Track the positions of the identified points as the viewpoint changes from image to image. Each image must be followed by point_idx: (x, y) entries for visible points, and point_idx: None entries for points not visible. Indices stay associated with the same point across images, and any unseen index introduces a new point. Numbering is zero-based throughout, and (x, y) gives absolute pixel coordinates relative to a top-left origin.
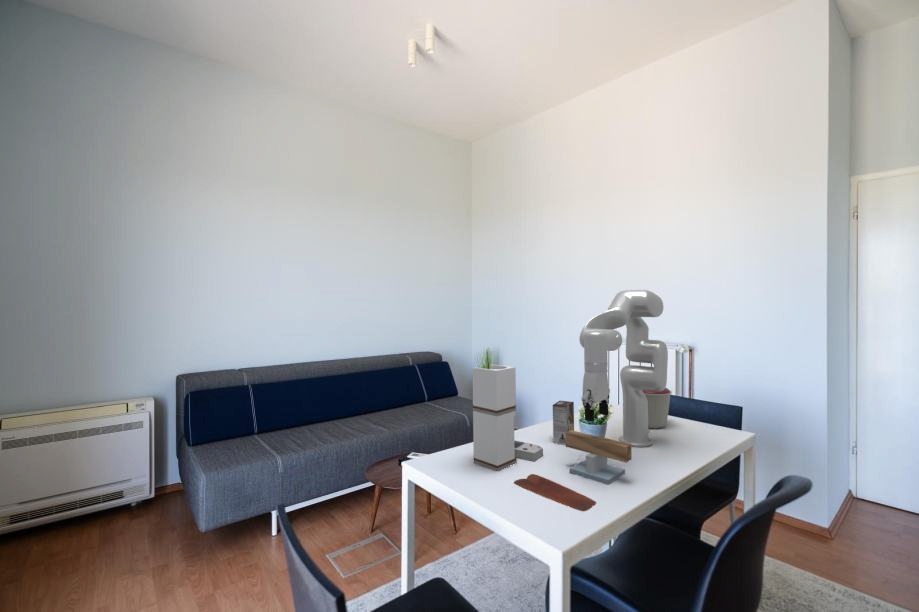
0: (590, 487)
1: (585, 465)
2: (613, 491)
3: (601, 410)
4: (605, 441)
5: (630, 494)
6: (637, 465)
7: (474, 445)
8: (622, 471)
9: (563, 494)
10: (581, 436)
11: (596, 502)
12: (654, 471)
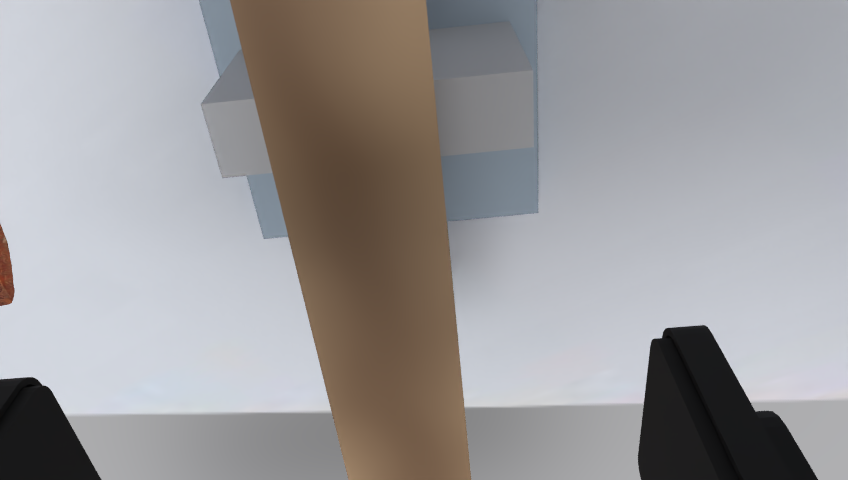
0: (127, 172)
1: None
2: (217, 286)
3: (674, 449)
4: (335, 330)
5: (271, 354)
6: (761, 172)
7: None
8: (495, 214)
9: None
10: (237, 24)
11: (10, 302)
12: (712, 289)
